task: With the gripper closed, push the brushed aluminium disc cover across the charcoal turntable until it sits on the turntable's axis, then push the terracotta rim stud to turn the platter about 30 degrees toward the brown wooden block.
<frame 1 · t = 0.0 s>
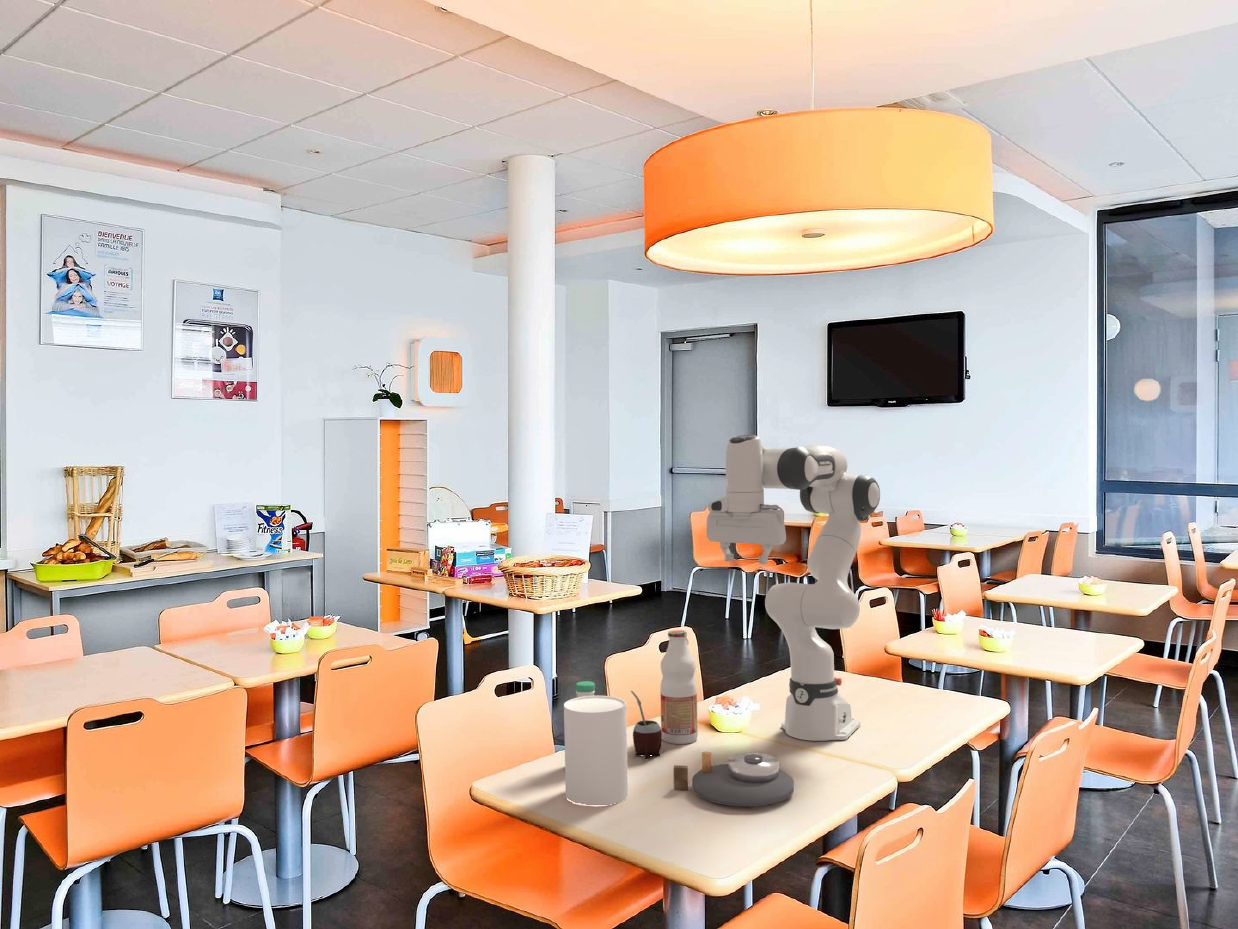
hand: (746, 562, 218), 48 cm above the table, tool pointing down, fingers open, 8 cm apart
mate gourd: (646, 756, 228), on the table
milk bottle: (586, 767, 220), on the table
canister: (596, 796, 202), on the table
cover: (753, 774, 205), point 2 cm above the table, touching turntable
fruit juice: (679, 740, 240), on the table
brown wooden block: (681, 789, 204), on the table
turntable: (742, 774, 202), point 4 cm above the table, hinge at 0.0°, touching cover
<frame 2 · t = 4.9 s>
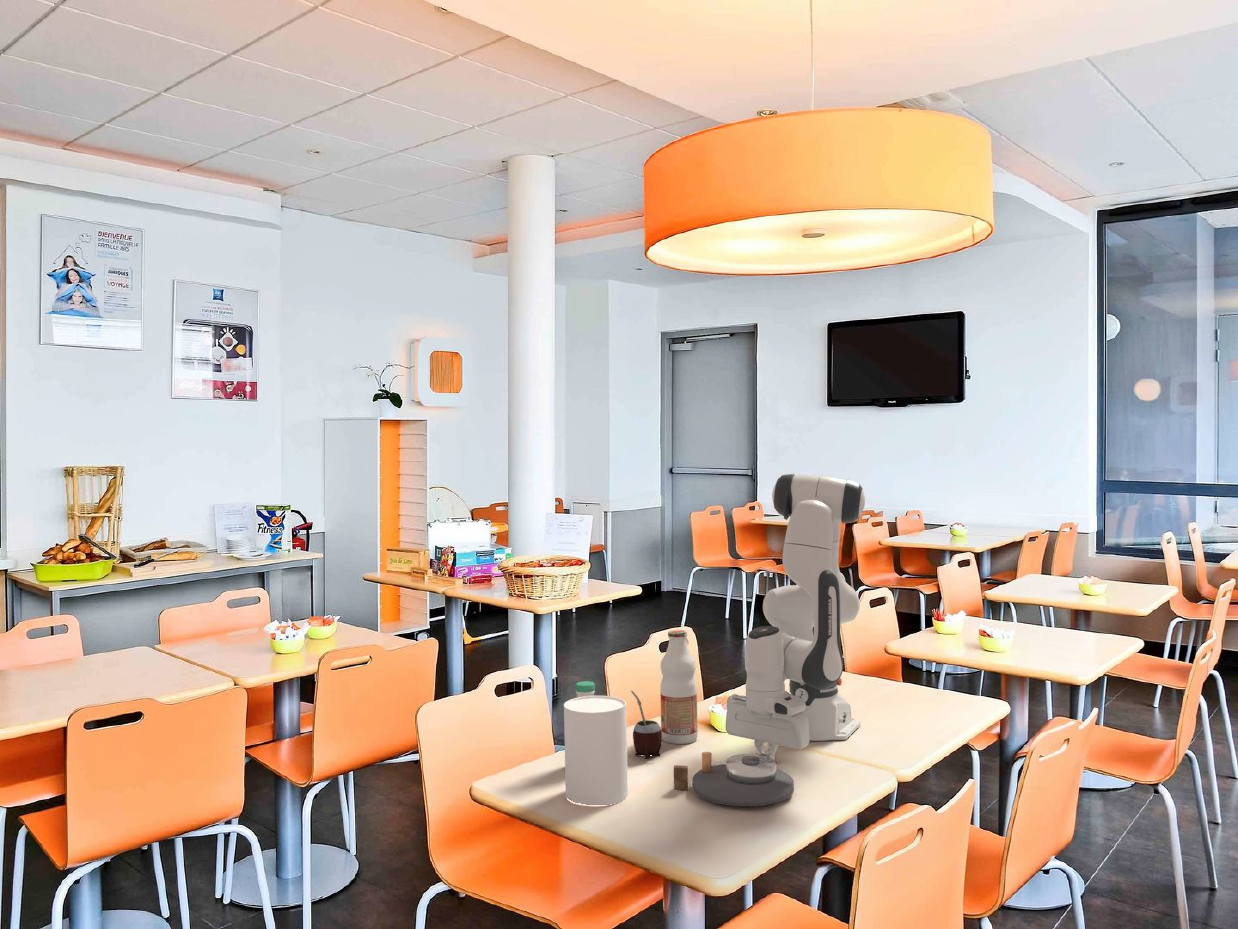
hand: (766, 760, 209), 4 cm above the table, tool pointing down, fingers closed, pressing on cover
cover: (751, 776, 205), point 3 cm above the table, touching gripper
turntable: (742, 774, 202), point 4 cm above the table, hinge at 0.0°
everything else where it was.
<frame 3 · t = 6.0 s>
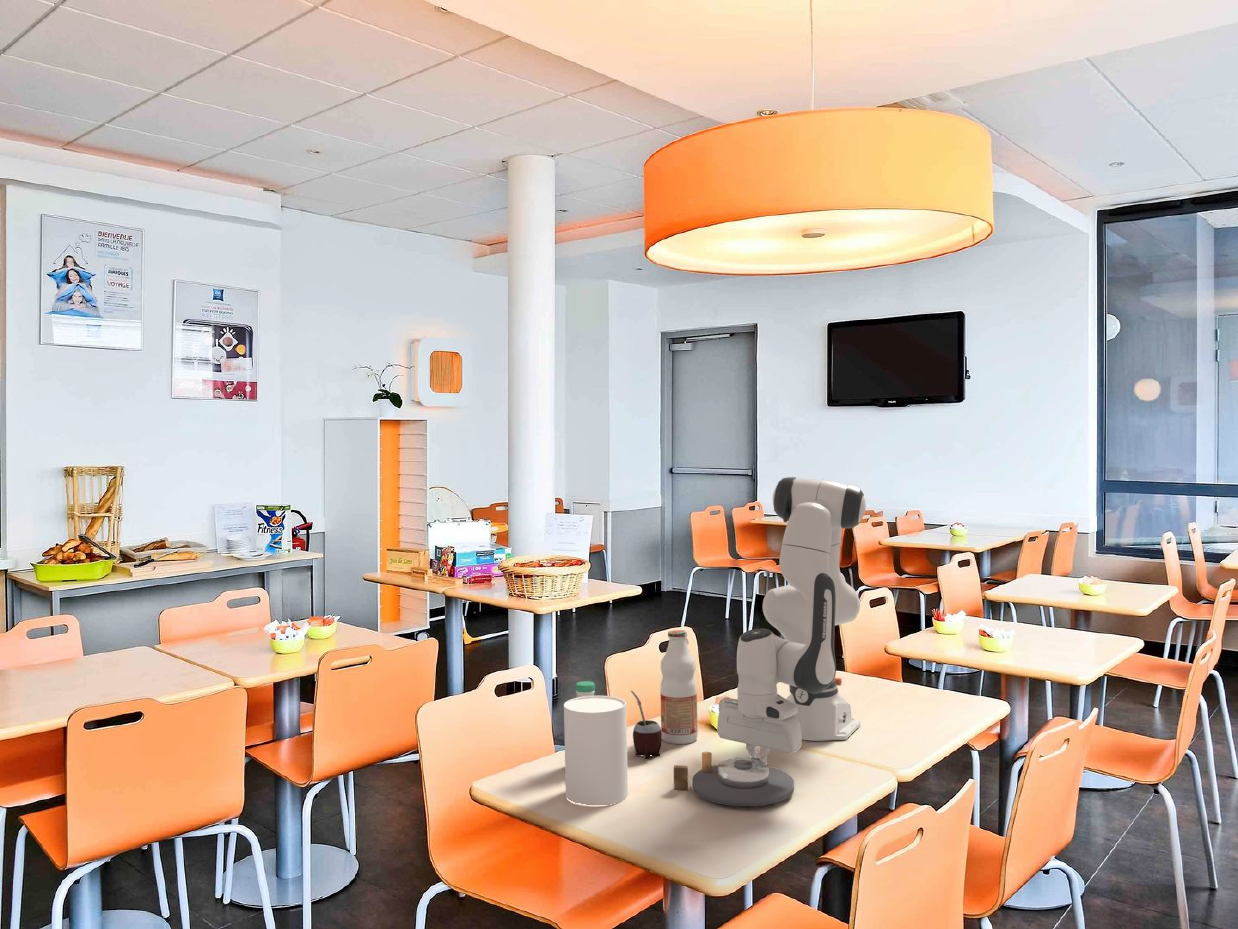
hand: (758, 764, 207), 4 cm above the table, tool pointing down, fingers closed
cover: (743, 780, 202), point 2 cm above the table, touching turntable
turntable: (742, 774, 202), point 4 cm above the table, hinge at -0.2°, touching cover
everything else where it was.
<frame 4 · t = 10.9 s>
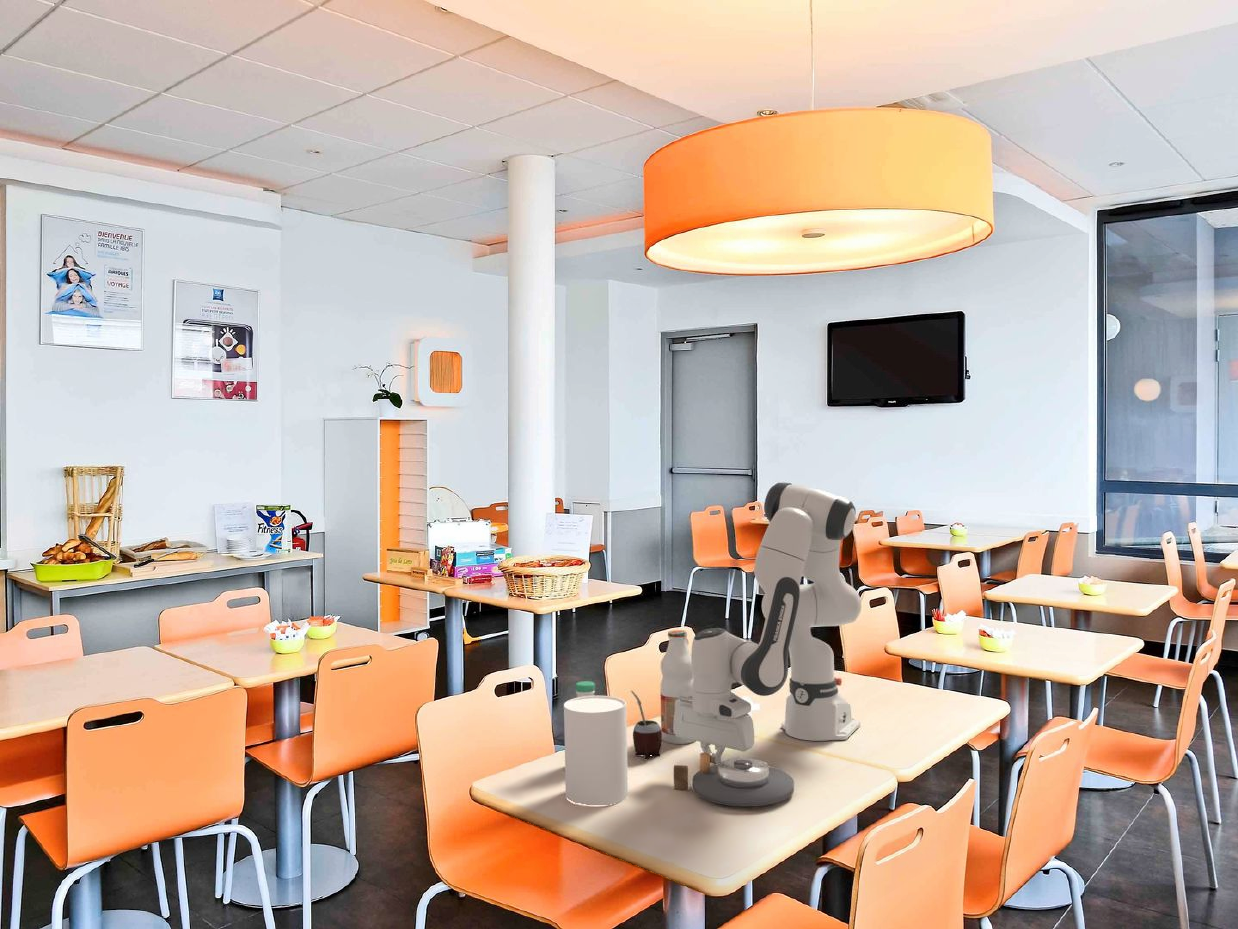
hand: (713, 762, 209), 4 cm above the table, tool pointing down, fingers closed
turntable: (742, 774, 202), point 4 cm above the table, hinge at 4.0°, touching cover, gripper
everything else where it was.
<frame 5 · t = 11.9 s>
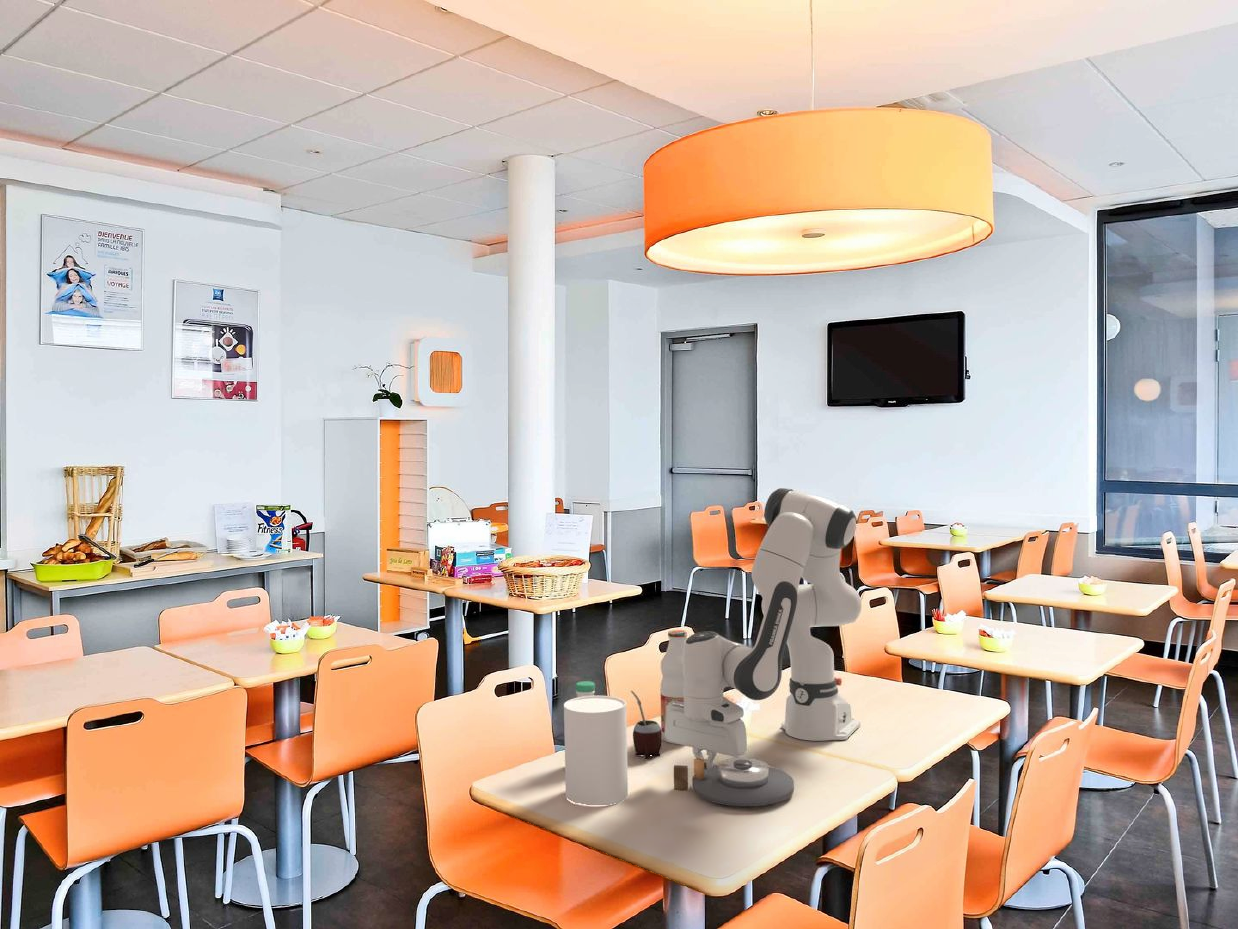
hand: (705, 768, 205), 4 cm above the table, tool pointing down, fingers closed, pressing on turntable
turntable: (742, 774, 202), point 4 cm above the table, hinge at 29.4°, touching cover, gripper
everything else where it was.
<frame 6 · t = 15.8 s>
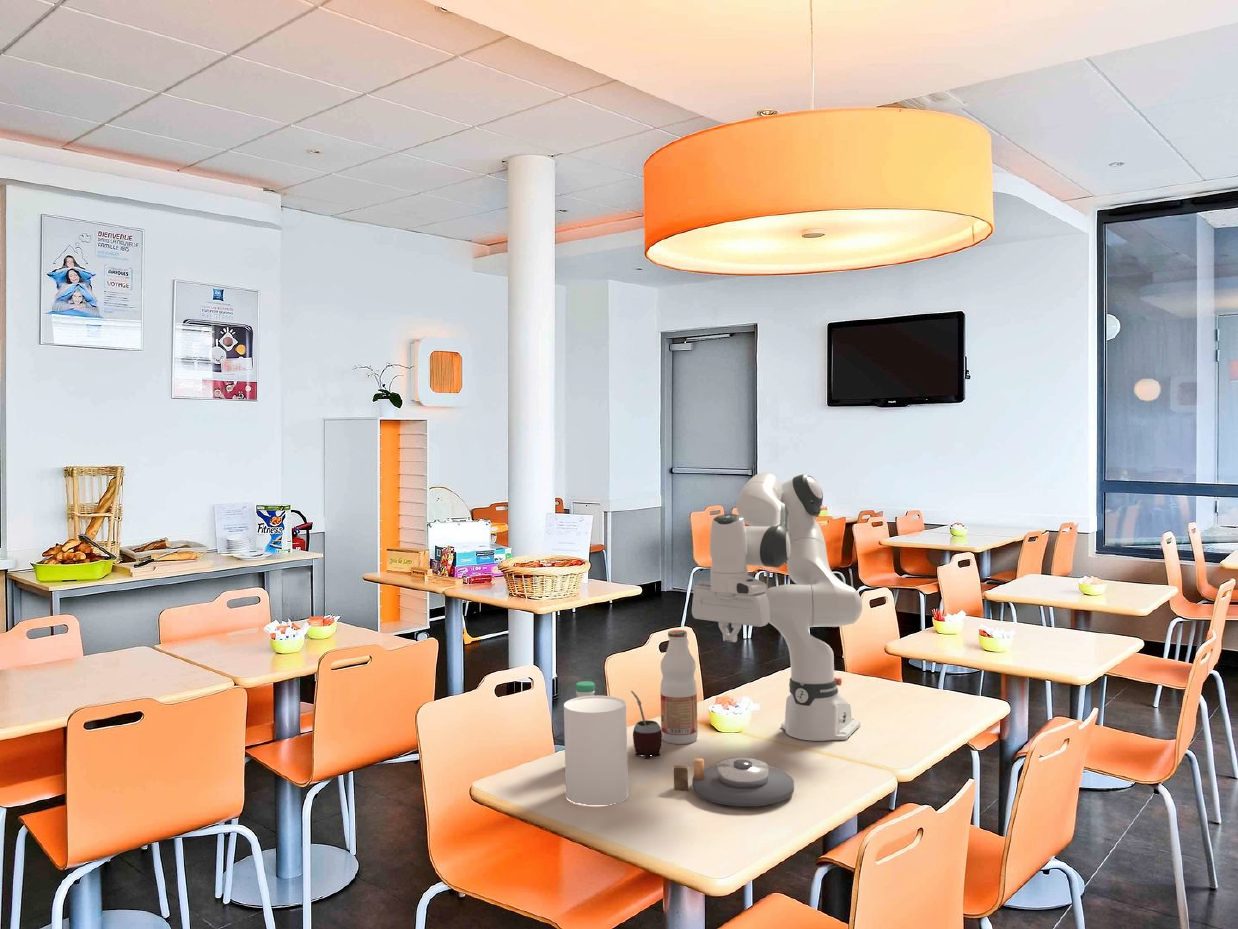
hand: (730, 641, 220), 29 cm above the table, tool pointing down, fingers closed
turntable: (742, 774, 202), point 4 cm above the table, hinge at 29.7°, touching cover
everything else where it was.
at the end: cover 0.2 cm from the turntable (horizontally); turntable at +30° (first picture: +0°); cover touching turntable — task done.
